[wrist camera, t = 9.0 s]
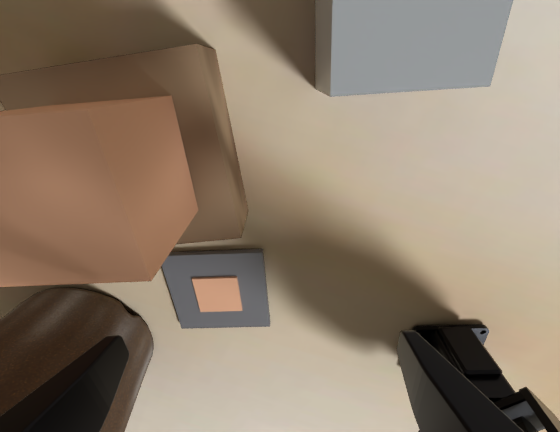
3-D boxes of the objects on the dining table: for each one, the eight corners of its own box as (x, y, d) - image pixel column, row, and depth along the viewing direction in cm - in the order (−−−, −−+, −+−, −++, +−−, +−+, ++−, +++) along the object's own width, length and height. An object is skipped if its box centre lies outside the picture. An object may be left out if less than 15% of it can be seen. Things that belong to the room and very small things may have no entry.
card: (270, 321, 25) (269, 328, 24) (183, 324, 25) (181, 330, 24) (262, 248, 21) (261, 254, 20) (161, 252, 21) (157, 257, 21)
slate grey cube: (420, 82, 16) (490, 86, 10) (315, 88, 16) (330, 96, 11) (442, -60, 13) (554, -155, 7) (315, -49, 13) (335, -133, 8)
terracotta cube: (198, 210, 15) (151, 281, 10) (97, 215, 16) (0, 287, 10) (171, 95, 13) (87, 109, 7) (50, 105, 13) (-114, 125, 8)
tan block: (249, 208, 20) (241, 237, 16) (120, 222, 21) (86, 253, 17) (217, 50, 15) (196, 43, 12) (52, 75, 16) (-14, 76, 13)
